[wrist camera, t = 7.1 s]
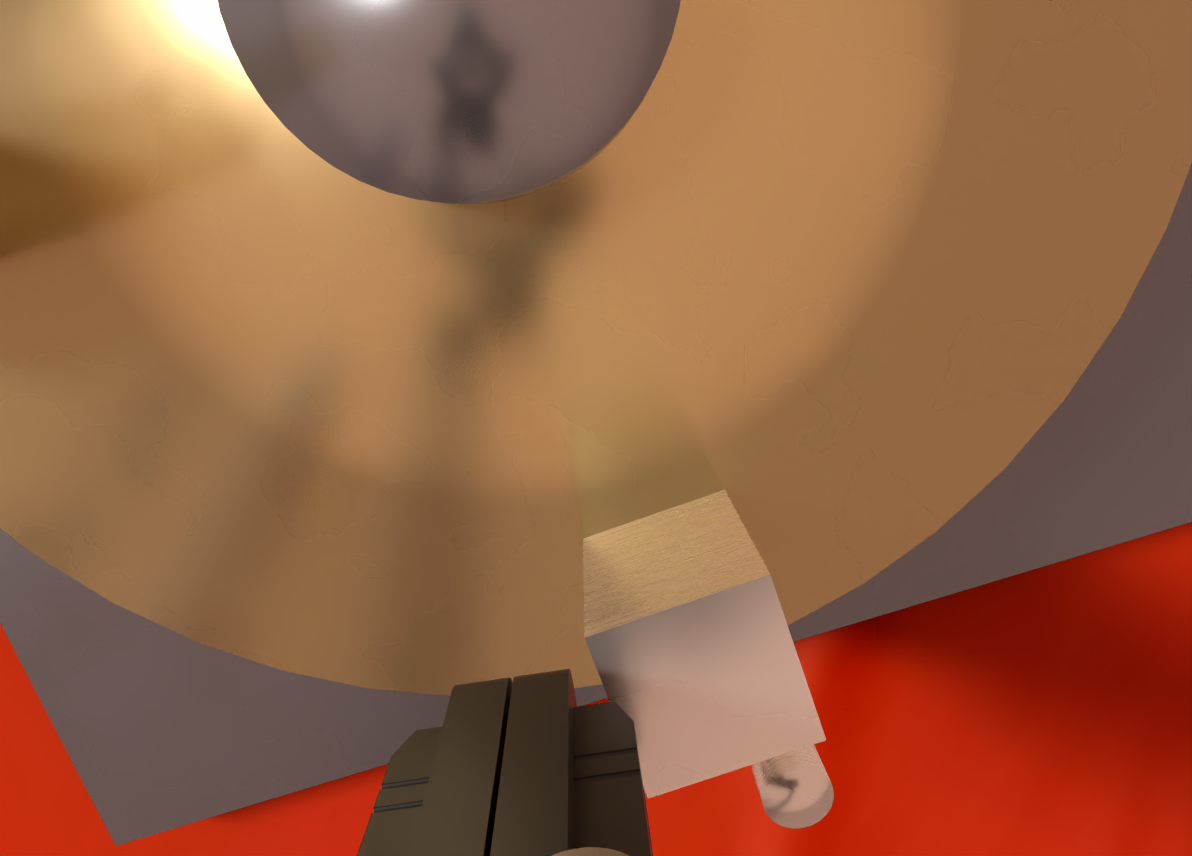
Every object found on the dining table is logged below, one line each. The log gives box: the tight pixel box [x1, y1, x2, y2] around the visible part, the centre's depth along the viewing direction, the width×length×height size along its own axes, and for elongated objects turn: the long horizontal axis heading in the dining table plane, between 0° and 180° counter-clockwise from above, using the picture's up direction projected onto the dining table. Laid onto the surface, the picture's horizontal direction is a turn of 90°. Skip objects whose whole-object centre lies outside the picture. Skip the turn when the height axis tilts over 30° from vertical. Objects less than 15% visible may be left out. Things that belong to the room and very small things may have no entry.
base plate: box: [0, 163, 1192, 846], centre depth 14 cm, size 26×26×8 cm
